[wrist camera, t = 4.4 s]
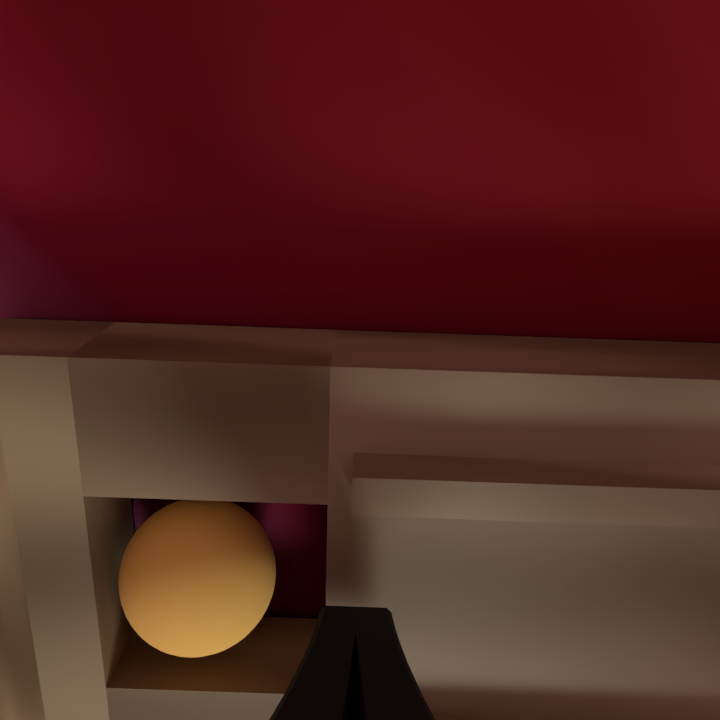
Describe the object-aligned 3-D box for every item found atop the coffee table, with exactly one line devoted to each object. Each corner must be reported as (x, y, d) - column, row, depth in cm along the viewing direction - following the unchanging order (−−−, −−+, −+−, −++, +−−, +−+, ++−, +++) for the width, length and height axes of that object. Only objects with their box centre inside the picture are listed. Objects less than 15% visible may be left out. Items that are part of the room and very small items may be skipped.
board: (700, 719, 18) (802, 895, 14) (60, 697, 18) (-34, 867, 14) (799, 346, 15) (975, 430, 10) (4, 318, 15) (-144, 391, 10)
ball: (168, 576, 18) (294, 592, 17) (99, 682, 14) (252, 705, 14) (154, 462, 16) (290, 476, 16) (74, 551, 13) (242, 571, 12)
